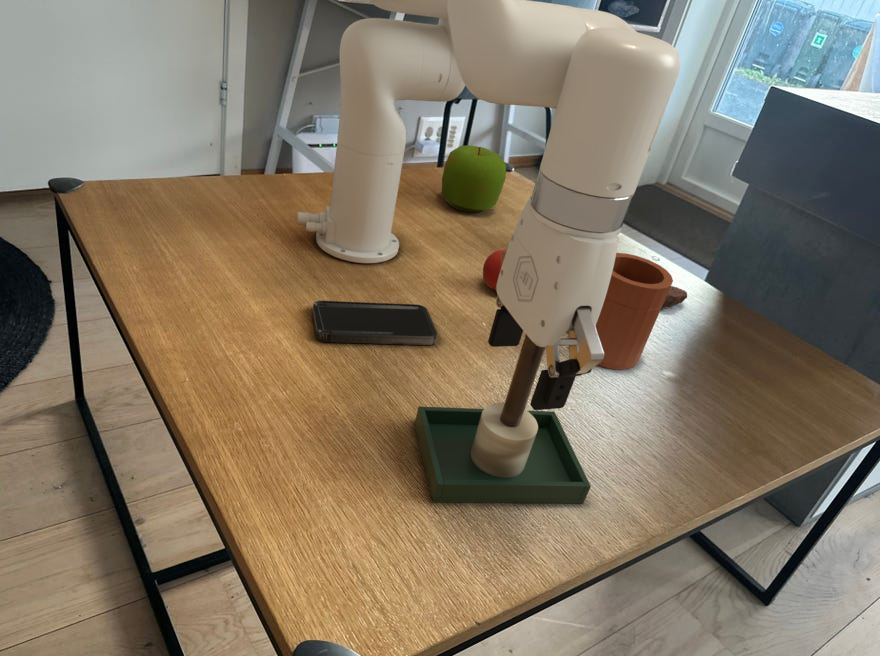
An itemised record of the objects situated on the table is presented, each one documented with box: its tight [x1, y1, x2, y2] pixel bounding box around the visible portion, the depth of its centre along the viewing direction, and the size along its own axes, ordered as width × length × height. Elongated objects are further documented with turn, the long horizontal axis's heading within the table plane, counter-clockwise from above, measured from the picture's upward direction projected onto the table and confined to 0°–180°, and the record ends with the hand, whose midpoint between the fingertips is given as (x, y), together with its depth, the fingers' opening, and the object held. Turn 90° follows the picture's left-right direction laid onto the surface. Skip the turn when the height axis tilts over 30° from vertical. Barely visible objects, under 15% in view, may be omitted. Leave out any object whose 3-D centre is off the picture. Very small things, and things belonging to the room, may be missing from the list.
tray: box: [414, 406, 592, 504], centre depth 71 cm, size 15×11×2 cm
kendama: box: [482, 249, 507, 291], centre depth 102 cm, size 8×6×18 cm
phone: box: [311, 300, 438, 346], centre depth 88 cm, size 8×1×15 cm
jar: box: [595, 252, 674, 370], centre depth 90 cm, size 9×9×12 cm
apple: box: [441, 144, 507, 213], centre depth 125 cm, size 11×11×11 cm
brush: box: [471, 334, 546, 478], centre depth 67 cm, size 6×6×15 cm
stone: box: [661, 285, 688, 309], centre depth 107 cm, size 7×7×3 cm
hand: (523, 374), depth 65 cm, fingers open, 9 cm apart
